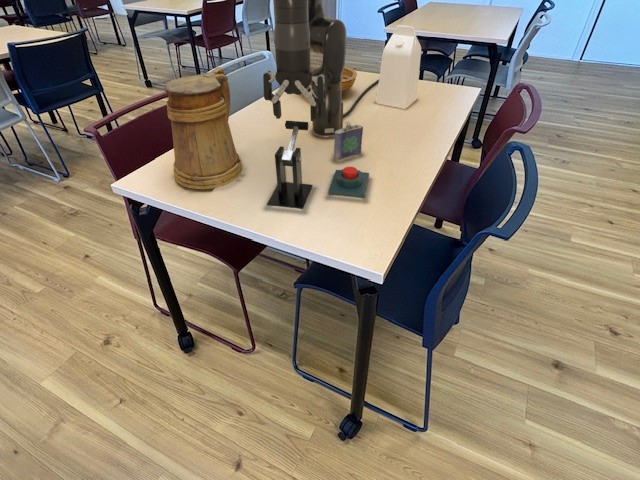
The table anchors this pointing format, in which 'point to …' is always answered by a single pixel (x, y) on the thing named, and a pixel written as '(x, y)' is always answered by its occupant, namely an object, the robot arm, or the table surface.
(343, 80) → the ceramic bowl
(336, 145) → the flask
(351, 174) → the button
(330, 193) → the button box
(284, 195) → the bracket
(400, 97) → the milk
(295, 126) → the lever
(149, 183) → the table surface
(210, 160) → the tankard
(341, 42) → the robot arm
